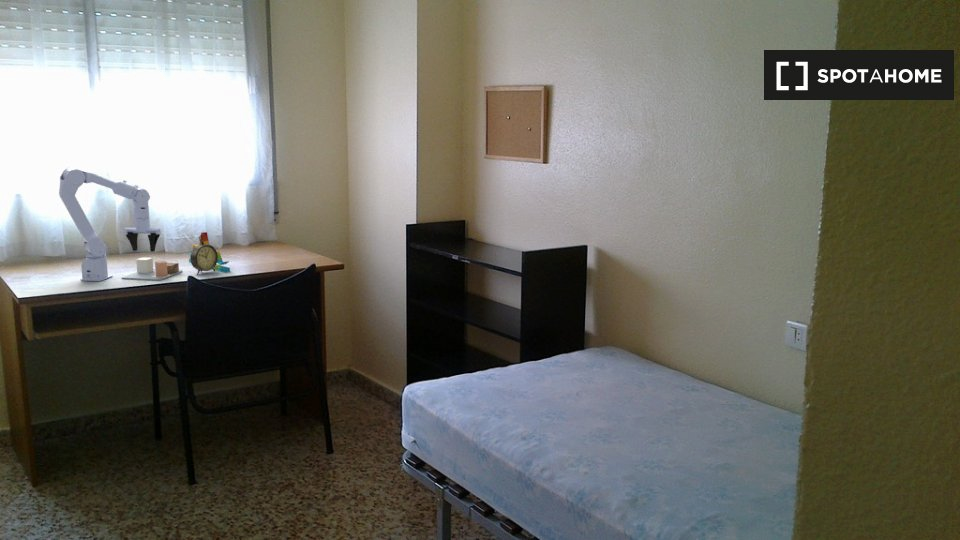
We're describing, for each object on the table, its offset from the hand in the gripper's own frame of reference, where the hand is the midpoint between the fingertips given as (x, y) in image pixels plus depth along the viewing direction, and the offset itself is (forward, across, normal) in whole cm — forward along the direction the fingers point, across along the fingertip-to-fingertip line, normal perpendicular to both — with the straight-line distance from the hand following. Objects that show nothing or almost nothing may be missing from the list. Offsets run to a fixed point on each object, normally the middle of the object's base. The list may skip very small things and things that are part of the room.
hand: (144, 250), depth 320 cm
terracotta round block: (+9, -10, +6) cm, 15 cm away
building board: (+9, -5, +3) cm, 11 cm away
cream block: (+9, 0, 0) cm, 9 cm away
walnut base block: (+9, -10, -1) cm, 13 cm away
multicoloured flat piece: (+10, -18, -19) cm, 28 cm away
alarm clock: (+10, -22, -6) cm, 25 cm away
